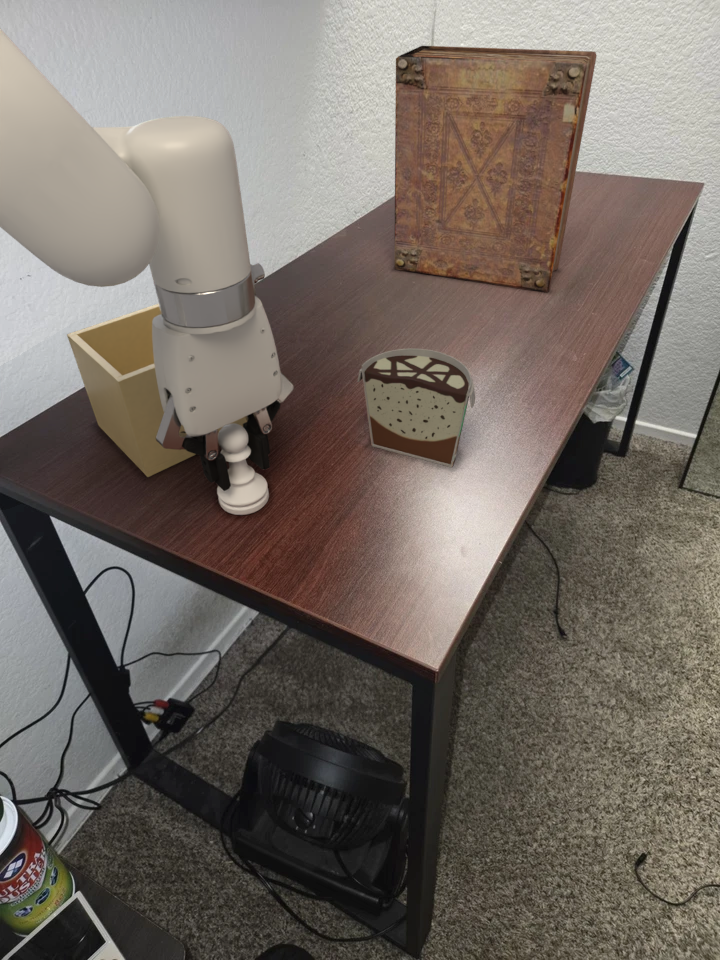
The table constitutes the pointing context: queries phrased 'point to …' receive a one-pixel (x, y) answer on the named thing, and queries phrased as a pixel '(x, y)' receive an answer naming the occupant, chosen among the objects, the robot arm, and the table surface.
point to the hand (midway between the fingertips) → (239, 471)
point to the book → (487, 160)
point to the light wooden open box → (126, 386)
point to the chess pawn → (240, 474)
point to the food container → (417, 402)
